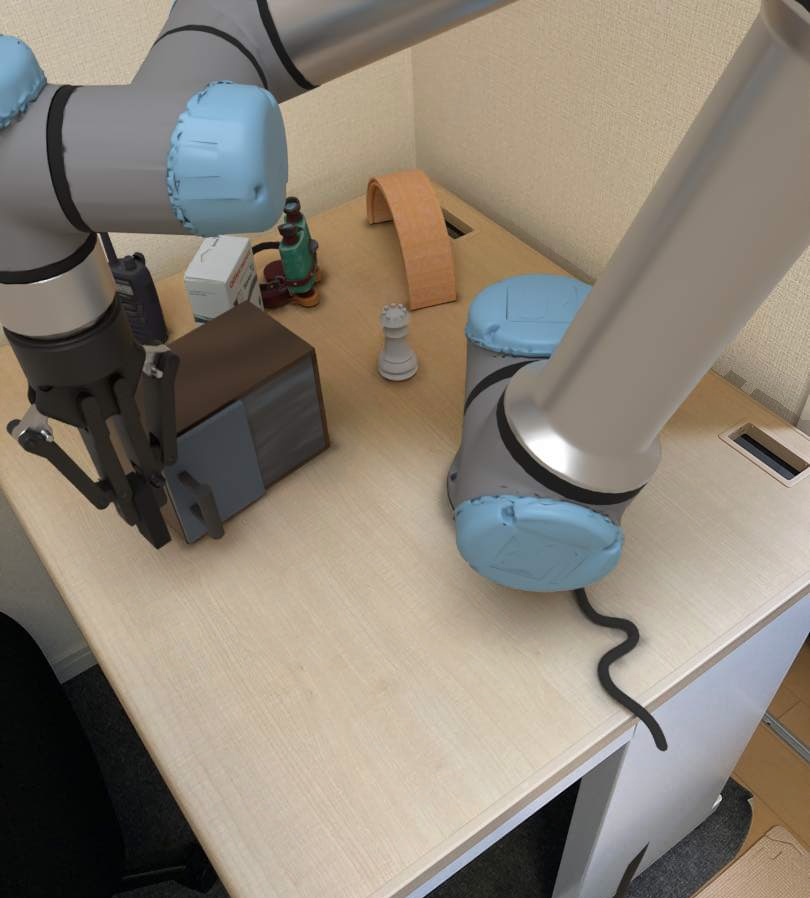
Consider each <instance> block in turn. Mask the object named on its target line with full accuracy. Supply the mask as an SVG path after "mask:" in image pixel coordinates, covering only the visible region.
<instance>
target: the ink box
mask: <svg viewBox="0 0 810 898" xmlns="http://www.w3.org/2000/svg"><path fill="white" fill-rule="evenodd" d="M252 247H253V246H252V243H251V238H250V237H248V236H247V237H246V236H239V235H233V234H225V235H218V236H217V237H209V238H204V240H203V241H202V242H201V245H200V247H199V249H198V250H197V252H196V253H195V254H194V257H193V258H192V260H191V262H190V263H189V264H188V266H187V269H186V270H185V272H184V275H183V282H184V285H185V290H186V293H187V296H188V301H189V305H190V308H191V312H192V316H193V319H194V323H195V326H196V328H198V327H200V326H201V325H203V324H205V323H207V322H208V321H210V320H212V319H214V318H215V317H217V316H219V315H221V314H222V313H224V312H226V311H228V310H230V309H231V308H233V307H235V306H237V305H238V304H240V303H242V302H244V301H245V300H248V301H250V302H251V303H253V304H254V305H255V306H257V307H258V308H260V309H261V310H262V311H264V312H265V308H264V307H265V306H263V302H262V297H261V292H260V287H259V284H260V283H259V279H258V272H257V268H256V263H255V258H254V257H255V256H254V255H253V252H252Z"/></svg>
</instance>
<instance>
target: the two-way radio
mask: <svg viewBox="0 0 810 898" xmlns="http://www.w3.org/2000/svg"><path fill="white" fill-rule="evenodd" d="M99 236H100V241H101V242H102V243H101V244H102V247H103V248H104V249H103V250H104V253H105V256H106V259H107V262H108V264H109V267H110V270H111V272H112V275H113V278H114V280H115V286H116V291H117V292H118V294H119V296H120V299H121V301H122V304H123V307H124V310H125V313H126V316H127V318H128V321H129V324H130V327H131V330H132V333H133V337H134V339H135V340H136V341H137V342H139V343H140V344H144V345H146V346H148V345H149V344H150V342H152V341H153V340H159V341H160V342H161V343H163V344H164V342H165V341H166V340H167V338H168V328H167V324H166V320H165V317H164V313H163V310H162V305H161V301H160V298H159V294H158V290H157V288H156V284H155V283H154V282H155V281H154V279H153V277H152V274H151V272H150V269H149V268H148V267H147V266H146V263H147V262H146V258H145V255H144V254H143V253H142V252H139V251H135V252H134V253H133V254H132V255H130V254H126V255H124V257H118V256H117V254H116V251H115V247H114V245H113V241H112V240H111V237H110V234H109V232H103V233H99Z"/></svg>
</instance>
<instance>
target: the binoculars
mask: <svg viewBox="0 0 810 898" xmlns="http://www.w3.org/2000/svg"><path fill="white" fill-rule="evenodd" d="M301 209H302V207H301V202H300V199H299V198H298V197H296V196H287V197H286V203H285V207H284V210H283V214H285V215H284V217H283V223H282V224H279V225H278V226H277V230H278V232H279V235H280V236H281V237H282V238H281V241H279V240H276V241H263V242H259V243H257V244H254V245H253V246H251V247H252V252H253V256H255V255H256V254H258V253H260V252H262V251H266V250H278V251H279V257H280V259H276V260H273V261H270V262H268V264H266V265H265V266H264V267H263V271H262V274H263V277H264V279H265V281H266V283H265V282H264V283H259V287H260V292H261V297H262V302H263V307H266V308H267V307H269V308H271V307H275V306H278V305H281V304H283V303H285V302H287V301H288V300H294V301H295V302H296V303H297V304H299V305H300V306H303V307H313V306H315V305H317V304H318V303H319V302H320V297H319V293H318V292H319V291H318V290H317V289H316V287H314V283H318V282H320V281H321V280H322V278H323V277H322V276H323V274H322V270H321V267H320V266H319V265H318V257H317V255H318V253H317V251H318V249H319V248H320V247H319V243H318V240H317V239H314V238H313V237H312V235H311V232H310V228H309V226H308V221H307V219H306V217H305V214H304V213H303V212H301Z"/></svg>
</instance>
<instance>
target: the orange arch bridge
mask: <svg viewBox="0 0 810 898" xmlns="http://www.w3.org/2000/svg"><path fill="white" fill-rule="evenodd" d="M365 196H366V197H365V202H366V203H365V204H366V205H365V206H366V207H365V209H366V221H367V222H368V224H370V225H371V224H377V223H378V224H379V223H384V222H387V221H392V220H393V223H394V227H395V230H396V234H397V239H398V242H399V246H400V250H401V255H402V260H403V265H404V271H405V277H406V284H407V285H406V286H407V292H408V303H409V305H408V306H409V309H410V311H413V310H418V309H422V308H426V307H431V306H436V305H441V304H444V303H449V302H453V301H457V285H456V283H457V282H456V276H455V275H456V274H455V265H454V258H453V252H452V247H451V242H450V237H449V233H448V229H447V225H446V220H445V216H444V213H443V210H442V207H441V205H440V201H439V197H438V196H437V193H436V191H435V189H434V186H433V184H432V182H431V180H430V179H429V176H427V175H426V173H425V172H424V171H423V170H422V169H421V168H412V169H406V170H401V171H398V172H392V173H388V174H387V173H386V174H383V175H378V176H372V177H370V179H369V180H368V182H367V185H366V195H365Z"/></svg>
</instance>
